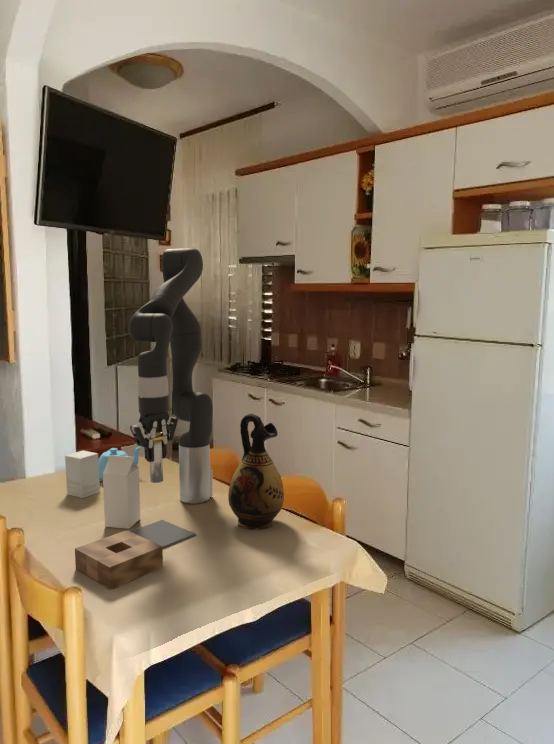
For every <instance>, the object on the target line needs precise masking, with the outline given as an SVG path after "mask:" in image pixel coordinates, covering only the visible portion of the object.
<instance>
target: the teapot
mask: <svg viewBox="0 0 554 744" xmlns="http://www.w3.org/2000/svg"><path fill="white" fill-rule="evenodd" d="M142 448H143V447H142V446H138V447H136V448H135V449H134V453H133V456H132V457H133V461H134V462H135V463H136V465H137V466H138V464H139V460H140V459H139V452H140V450H141V449H142ZM109 455H113V456H129V455H128V454H127V453H126V451H124V450H118V448H117V447H112V448H109V449H108V450H106V451H104V452H103V453H102V454H101V455H100V456H99V457H98V459H99V481H100V482H103V472H104V470H105V467H106V465H107V462H108V460H109Z"/></svg>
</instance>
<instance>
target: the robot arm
mask: <svg viewBox="0 0 554 744" xmlns="http://www.w3.org/2000/svg"><path fill="white" fill-rule="evenodd" d="M203 271H204V261H203V257H202V254H201V252H200V250H198V248H195V247H194V248H193V247H184V248H168V249H164V250H163V253H162V256H161V272H162V277H163V278H162V279H163V283H162V284H161V285H159V286H158V287H157V288H156V289H155V290H154V292H153V294H152V295H151V297H150V299H149V300H148V302H147V303H145V304H144V305H143V306H142V307H140V308H139V309H138V310H136V311H135V313H133V315H132V316H131V317H130V319H129V322H128V333H129V336H130V338H131V340H132V339H133V340H134V341H135V342H140V343H155V346H154V348H153V349H152V350H147V351H143V352H141V353H139V354H138V355H137V376H138V377H137V399H138V400H137V401H138V413H139V419H138V422H137V423H136V424H134V425H130V427H129V430H130V431H131V434H132V436H133V439H134V440H135V443H136V445H137V446H138V447H139V446H142V447H141V448H144V460H146V462H148V463H150V462H153V461H154V452H153V448H152V447H153V441H152V439H154V438H155V434H158V435H161V436H164V440H162V460H164V459H166V456H167V454H168V453H167V452H168V451H167V450H168V449H167V448H168V447H167V444H168V442H170V441H173V439H174V437H175V436H174V435H175V433H176V432H175V431H176V429H177V425H178V421H179V420H180V421H183V422H189V429H188V431H186V432H183V433H181V434H180V435H179V437H178V458H179V459H178V463H179V464H178V468H179V500H180V501H181V502H183V503H185V504H201V503H205V501H206V502H207V501H210V499H211V498H212V496H213V494H214V493H213V489H214V488H213V467H212V466H211V457H210V454H211V451H210V449H211V448H210V446H211V445H210V443H211V442H210V441H211V440H210V438H211V437H212V431H213V415H214V414H213V413H214V409H213V401H212V398H211V396H210V395H209V394H207V393H205V392H201V391H199V392H198V391H194V388H193V372H194V369H195V366H196V364H197V362H198V360H199V357H200V355H201V352H202V347H203V341H202V332H201V331H202V330H201V329H202V328H201V325H200V322H199V320H198V318H197V317H196V315H195V314H194V313H193V311H192V310H191V309H190V307H189V306H188V304H187V303H186V301H185V299H184V297H185V296H186V294H187V293H188V292H189V291H190V289H191V288H193V286H194V285H195V284H196V283H197V282H198V280H199V279H200V278H201V276H202V274H203ZM169 348H170V354H171V356H170V357H171V369H172V387H171V389H172V390H171V392H172V393H171V394H172V397H171V399H172V400H171V401H172V404H171V405H172V412H173V414H174V416H170V414H169V412H170V411H169V410H170V395H169V380H168V373H167V372H168V371H167V368H168V366H167V365H168V364H167V363H168V362H167V358H168V353H169ZM147 438H148V441H147ZM210 497H211V498H210Z"/></svg>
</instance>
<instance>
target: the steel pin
mask: <svg viewBox="0 0 554 744" xmlns="http://www.w3.org/2000/svg"><path fill="white" fill-rule="evenodd" d="M162 440H164V436H161V435H158V434H155V438H154V439H152V441H153V447H152V448H153V452H154V461H153V462H149V473H150V474H149V476H150V483H152V484H153V483H154V484H158V483H161V482H163V481H164V465H163V464H164V463H163V460H164V459H162ZM147 441H148V438H147Z"/></svg>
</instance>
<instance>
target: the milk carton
mask: <svg viewBox="0 0 554 744" xmlns="http://www.w3.org/2000/svg"><path fill="white" fill-rule="evenodd" d="M133 457H134V456H129V455H128V456H113V455H109V460H108V462H107V465H106V467H105V470H104V472H103V505H104V506H103V508H104V509H103V510H104V511H103V512H104V527H106V528H107V527H108V528H114V529H115V528H116V529H125V530H127V529H128V530H129V529H131V528H132V527H133V526H134V525H135V524H136V523H137V522H139V521H140V519H141V502H140V501H141V499H140V496H141V495H140V494H141V492H140V491H141V490H140V467H139V466H138V465H136V463H135V462H134V461H133Z"/></svg>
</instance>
